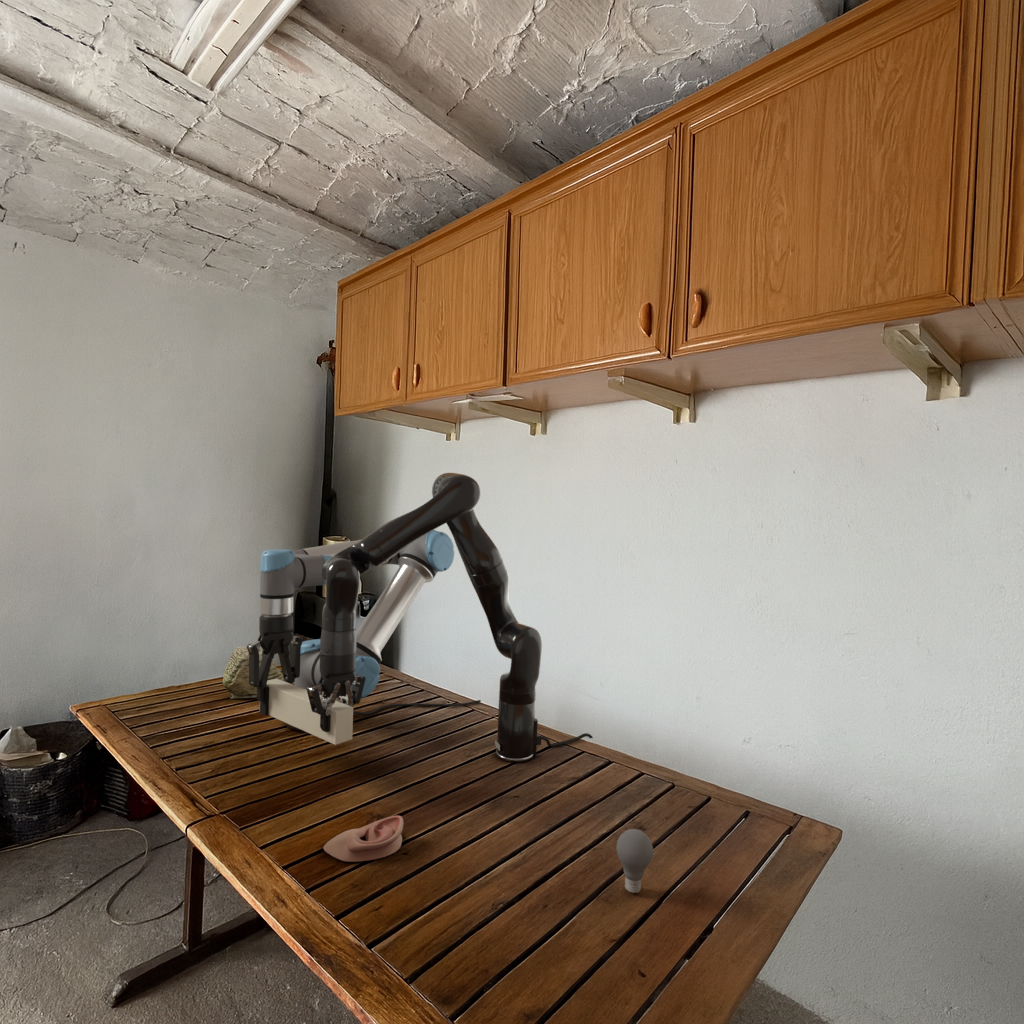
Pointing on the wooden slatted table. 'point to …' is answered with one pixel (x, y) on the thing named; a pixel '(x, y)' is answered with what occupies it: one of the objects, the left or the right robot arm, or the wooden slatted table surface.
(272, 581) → the left robot arm
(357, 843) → the anatomical model
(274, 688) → the beam
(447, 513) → the right robot arm
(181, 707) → the wooden slatted table surface
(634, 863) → the light bulb
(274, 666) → the fossil
